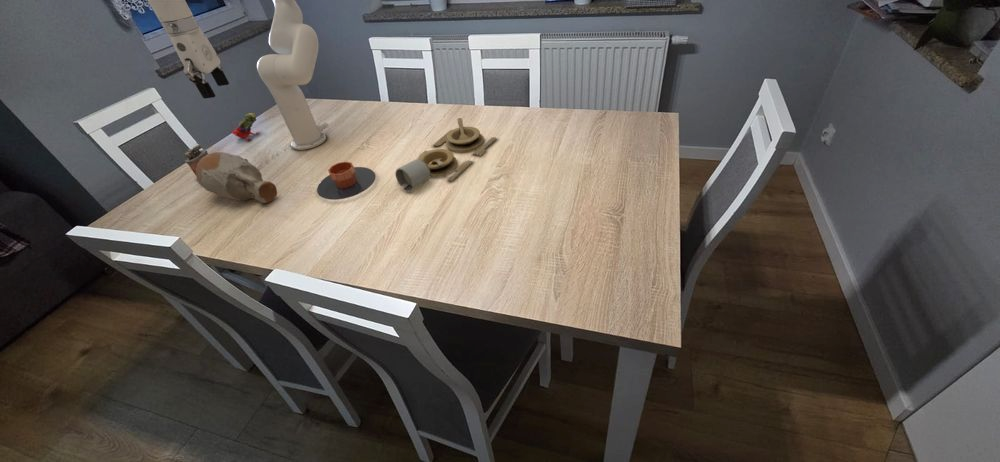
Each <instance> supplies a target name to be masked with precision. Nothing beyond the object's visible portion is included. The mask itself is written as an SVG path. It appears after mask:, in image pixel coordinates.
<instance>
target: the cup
mask: <svg viewBox="0 0 1000 462" xmlns="http://www.w3.org/2000/svg"><path fill="white" fill-rule="evenodd" d="M354 167H355V166H354V164H353V162H350V161H342V162H337V163H335V164H333V165H331V166H330V167H329V168H328V173H329V175H330V176H331V178H332V181H335V183H336V186H337V187H339V188H346V187H350V186H352V185H354V184H355V183H356V181H357V179H356V176H355V174H356V172H355V169H354ZM342 170H343V171H342Z"/></svg>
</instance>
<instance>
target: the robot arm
mask: <svg viewBox="0 0 1000 462" xmlns="http://www.w3.org/2000/svg"><path fill="white" fill-rule="evenodd" d="M147 2H148V4H149V5H150V7H151V9H152V11H153V13H154V15H155V16H156V17H157V19H158V22H159V23H160V25H161V26H162V28H163V30H164V31H165V33H166V35H167V36H168V37H169V39H170V41H171V44H172V46H173V48H174V50H175V52H176V54H177V56H178V58H179V60H180V62H181V63H182V65H183V74H184V75H185V76H186V77H187V78H188V80H189V81H190V82H192V84H193V86H195V87H196V88H197V90H198V92H199V93H200V95H201V97H202V98H203V99H212V98H216V94H215V92H214V89H213V88H212V87H211V85H210V83H209V82H208V81H207V79H206V74H211V76H212V78H213V79H214V82H215V83H216V85H217V86H218V87H222V86H228V85H230V81H229V80H228V78H227V76H226V75H225V72H224V70H223V67H222V66H221V59H220V58H219V55H218V53H217V52H216V50H215V48H214V47H213V45H212V43H211V42H210V40H209V39H208V37H207V36H206V34H205V33H204V32H203V30H202V29H201V27H200V25H199V24H198V22H197V20H196V18H195V16H194V14H193V13H192V10H191V9H190V7H189V5H188V3H187V1H186V0H147ZM272 3H273V5H274V14H273V19H272V23H271V27H270V31H269V36H268V44H269V46H270V48H271V50H272V51H273V52H275V53H269V54H265V55H263V56H261V57H260V58H259V59H258V60H257V63H256V69H257V73H258V76H259V77H260V79H261V80H262V82H263V83H264V85H265V86H266V88H267V89H268V90H269V93H270V94H271V96H272V97H273V100H274V102H275V104H276V106H277V109H278V110H279V112H280V115H281V116H282V118H283V120H284V123H285V125H286V127H287V129H288V131H289V133H290V136H291V137H292V140H291V142H290V146H291V148H292V149H294V150H297V151H304V150H310V149H313V148H316V147H318V146H320V145H322V144H323V143H324V142H325V141H326V140H327V136H326V133H325V132H323V131H324V130H325V129H327V128H328V127H329V124H328V123H327V122H326V121H325V122H323V123H321V124H320V123H316V121H315V118H314V116H313V113H312V111H311V108H310V106H309V104H308V101H307V99H306V96H305V94H304V92H303V91H302V89H301V87H300V86H304V85H307V84H309V83H310V82H311V81H312V79H313V76H314V72H315V67H316V64H317V63H316V62H317V58H318V55H319V49H320V48H319V47H320V45H319V38H318V35H317V32H316V30H315V29H314V28H313V27H311V26H310V25H308V24H306V23H303V22H304V21H303V20H304V16H303V11H302V10H301V8H300V6H299V4H298V3H297V1H296V0H272Z"/></svg>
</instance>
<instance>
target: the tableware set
mask: <svg viewBox="0 0 1000 462" xmlns="http://www.w3.org/2000/svg"><path fill="white" fill-rule="evenodd" d="M456 121H457V125H458V127H457V128H454V129H451V130H449V131H448V132H447V133H445V134H444V135H443V136H442V137H441V138H440V139H438V140H437V141H436V142H434V143H433V145H432V146H433V147H434V148H435V149H429V150H427V151H426V150H424V152H422V153H421V154H420V155H419V156H418V157H417V159H420V160H422V161H424V162H425V163H426V164H427V165H428V167H429V169H430V173H431V175H430V178H433V177H434V178H436V177H441V176H444V175H447V174H449V173H450V172H452V171H454V170H455V171H456V172H455V173H454V174H452V175H450V177H449V178H448V182H449V183H452V182H454V181H455V180H456V179H457V178H458V177H459V176H461V174H462V173H463V172H464V171H465V170H466V169H467V168H469V167H470V166H471V165H472V164H473V161H472V160H465V161H464V162H463V163H461V165H460V166H458V159H457V157H456V156H454V153H453V152H460V153H461V152H462V153H463V152H470V151H473V150H476V151H474V152H473V153H472V156H477V157H482V156H483V155H484V154H485V153H486V149H488V148H489V147H490V146H491V145H493V144H494V143H495V142H496V141H497V138H496V136H495V137H491V138H490V139H489V140H488V141H487V142H486V143H485V144H484V141H485V137H484V135H483V134H482V133H481V131H480V130H479V129H478V128H477V127H475V126H464V122H463V118H462V117H458V118H457V120H456ZM444 143H445V146H446V148H447V149H446V148H438V147H440V146H441V145H443V144H444ZM483 144H484V145H483ZM482 145H483V146H482ZM479 147H480V148H479ZM457 166H458V167H457Z"/></svg>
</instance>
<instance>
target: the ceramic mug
mask: <svg viewBox="0 0 1000 462" xmlns="http://www.w3.org/2000/svg"><path fill="white" fill-rule="evenodd" d="M394 174H395V178H396V181H397V183H398V184H399V186H400V187H402V186H403V185H405V184H407V183H408V184H407V185H406V186H405V187H404V188H403V190H404V191H406V192H408V193H410V192H413V191H415V190H416V189H417V188H419V187H420V186H422V185H423V184H424V183H426V182H427V181H428V180H429V179H430V178H431V177H430V175H431V173H430V169H429V167H428V165H427V164H426V163H425V162H424V161H422V160H420V159H418V158H417V159H413V160H411V161H410V162H407V163H405V164H404V165H402V166H400V167H397V169H396V170H395V173H394Z"/></svg>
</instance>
